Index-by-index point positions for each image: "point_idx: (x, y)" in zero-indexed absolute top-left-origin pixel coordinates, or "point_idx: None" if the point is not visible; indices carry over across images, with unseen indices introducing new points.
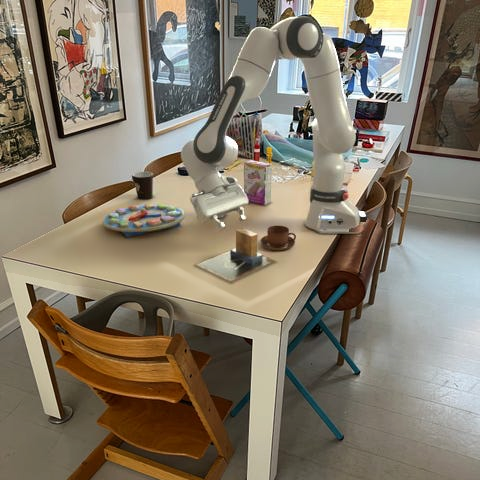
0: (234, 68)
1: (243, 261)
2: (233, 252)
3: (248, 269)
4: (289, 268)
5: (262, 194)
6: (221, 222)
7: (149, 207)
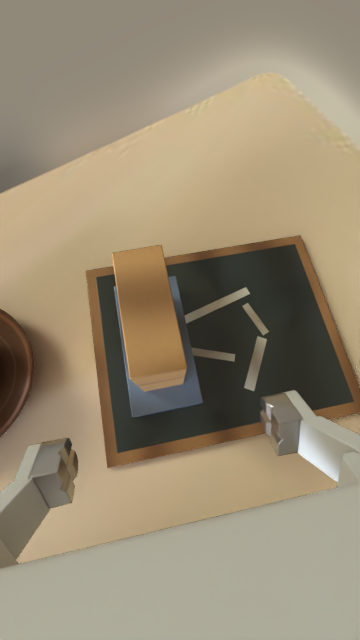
0: None
1: None
2: (198, 380)
3: (206, 266)
4: (80, 215)
5: None
6: (297, 418)
7: None
